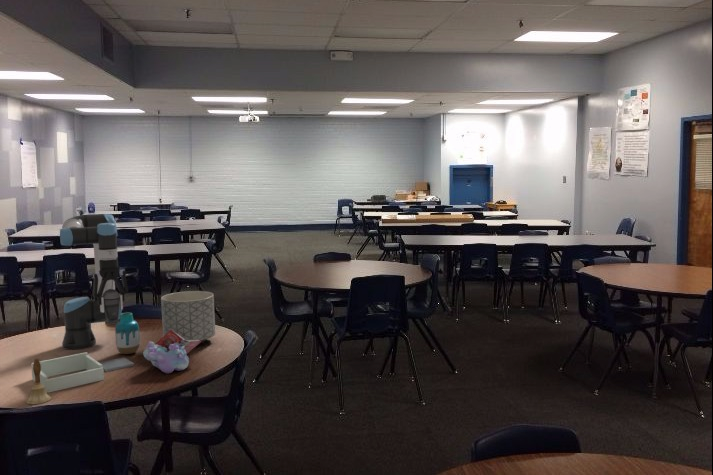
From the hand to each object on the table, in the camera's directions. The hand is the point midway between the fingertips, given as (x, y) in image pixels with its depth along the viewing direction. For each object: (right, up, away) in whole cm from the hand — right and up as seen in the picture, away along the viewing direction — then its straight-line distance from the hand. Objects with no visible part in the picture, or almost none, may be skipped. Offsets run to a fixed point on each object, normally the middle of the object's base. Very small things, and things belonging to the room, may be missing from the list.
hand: (111, 310), depth 262 cm
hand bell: (-12, -30, -37) cm, 49 cm away
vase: (0, -23, +20) cm, 31 cm away
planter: (+24, -21, +36) cm, 48 cm away
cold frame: (-12, -27, -15) cm, 33 cm away
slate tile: (+1, -25, +3) cm, 25 cm away
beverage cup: (0, -6, +1) cm, 6 cm away
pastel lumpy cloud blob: (+26, -25, -1) cm, 36 cm away
